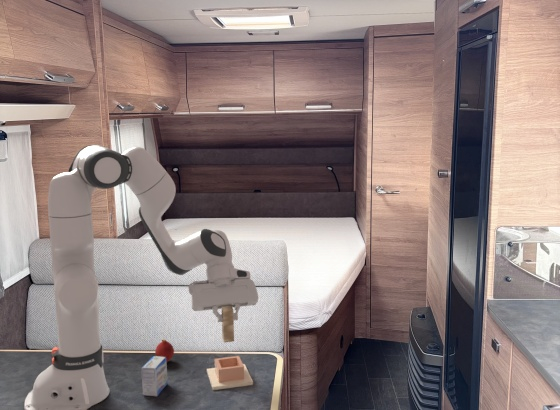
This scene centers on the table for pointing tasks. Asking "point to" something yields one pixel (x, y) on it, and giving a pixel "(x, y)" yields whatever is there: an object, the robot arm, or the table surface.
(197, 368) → the table surface
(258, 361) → the table surface
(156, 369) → the medicine box
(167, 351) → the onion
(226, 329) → the tall tan block
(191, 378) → the table surface
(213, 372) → the stepped square socket
